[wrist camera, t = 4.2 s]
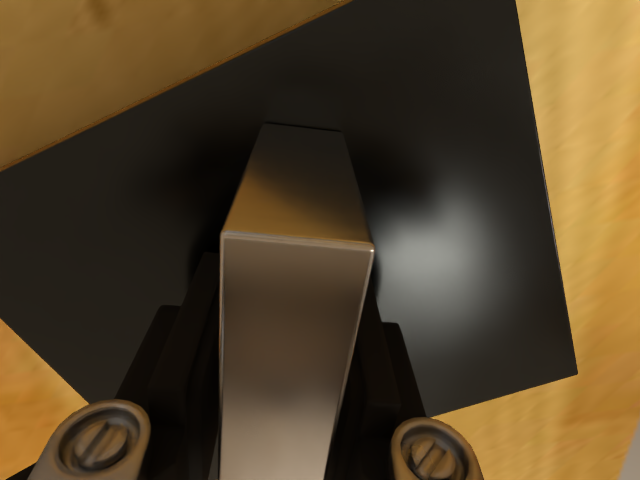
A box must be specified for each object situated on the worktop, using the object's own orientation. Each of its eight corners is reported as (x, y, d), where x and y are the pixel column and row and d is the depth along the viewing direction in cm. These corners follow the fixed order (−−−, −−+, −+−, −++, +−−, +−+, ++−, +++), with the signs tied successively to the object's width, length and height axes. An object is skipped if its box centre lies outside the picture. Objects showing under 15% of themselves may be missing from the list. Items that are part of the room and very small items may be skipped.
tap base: (449, -51, 9) (504, -74, 7) (529, 307, 14) (579, 375, 12) (-10, 172, 12) (-103, 221, 9) (199, 414, 17) (179, 491, 14)
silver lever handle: (261, 121, 8) (213, 243, 4) (344, 131, 8) (382, 259, 4) (245, 427, 12) (213, 640, 8) (298, 430, 12) (294, 641, 8)
